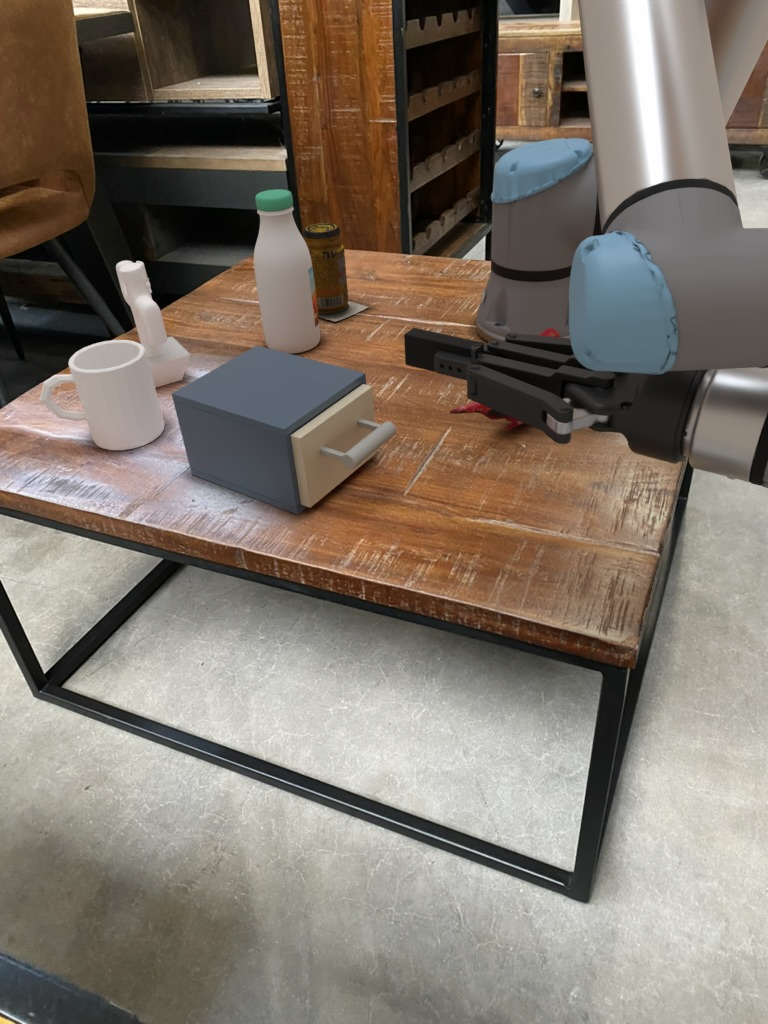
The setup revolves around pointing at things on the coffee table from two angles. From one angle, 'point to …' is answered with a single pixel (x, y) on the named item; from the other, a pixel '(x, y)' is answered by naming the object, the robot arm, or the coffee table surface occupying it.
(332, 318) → the condiment
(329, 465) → the drawer
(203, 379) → the cabinet
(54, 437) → the coffee table surface
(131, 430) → the mug
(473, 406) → the decorative bird figurine
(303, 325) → the milk bottle
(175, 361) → the figurine
